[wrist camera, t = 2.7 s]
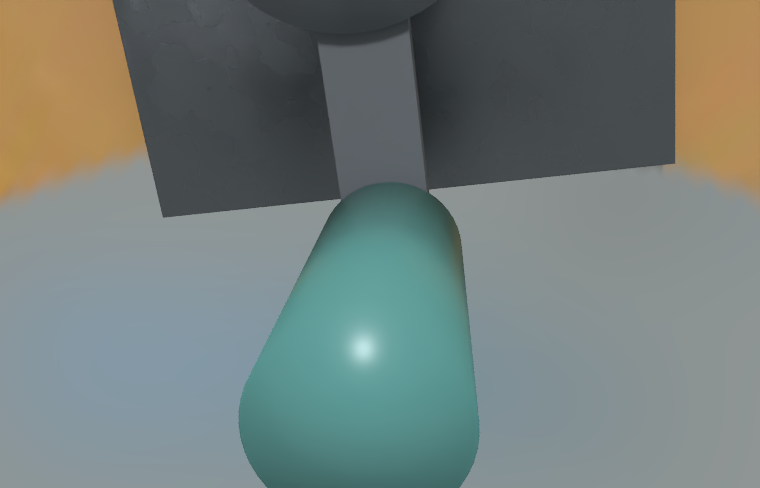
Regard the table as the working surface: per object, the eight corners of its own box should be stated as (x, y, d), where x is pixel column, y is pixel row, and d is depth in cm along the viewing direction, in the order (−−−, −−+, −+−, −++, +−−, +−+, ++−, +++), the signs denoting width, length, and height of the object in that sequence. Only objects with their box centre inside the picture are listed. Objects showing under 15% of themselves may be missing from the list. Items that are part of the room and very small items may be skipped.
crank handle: (284, 291, 24) (154, 540, 13) (183, -264, 19) (-173, -635, 8) (526, 269, 23) (608, 516, 12) (486, -320, 18) (563, -826, 7)
